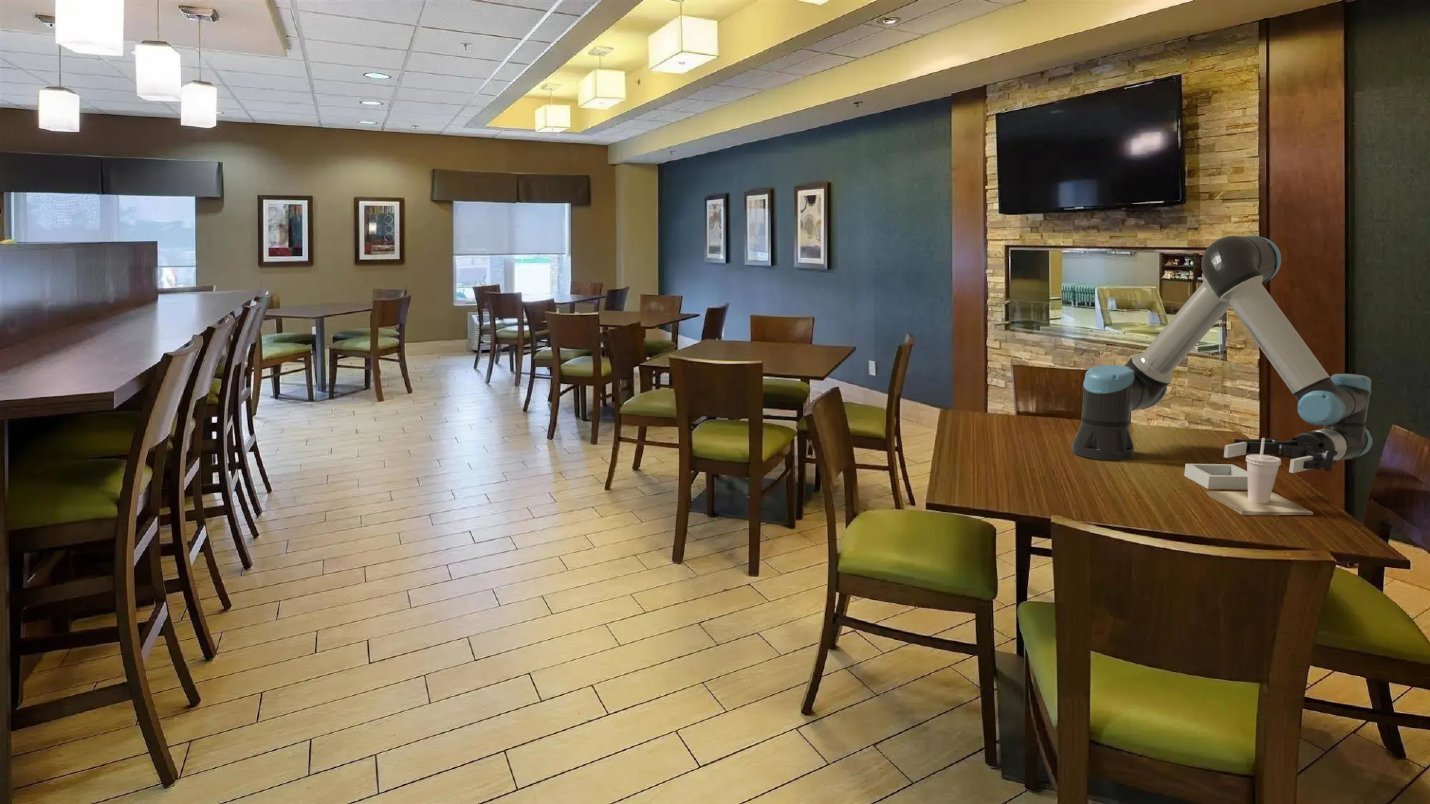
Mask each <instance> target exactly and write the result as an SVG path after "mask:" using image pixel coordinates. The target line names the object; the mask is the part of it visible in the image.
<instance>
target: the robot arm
mask: <svg viewBox="0 0 1430 804" xmlns="http://www.w3.org/2000/svg"><path fill="white" fill-rule="evenodd" d="M1200 264H1201V271H1202V274H1201V276H1202V283H1201V284H1200V285H1199V287H1198V288H1197V289H1196V290H1195V291H1194V293H1192V295H1191V296H1190V297H1189V298H1188V299H1187V301H1186V302H1185V303H1184V304H1183V305H1182V307H1181V308H1180V309H1179V310H1178V311H1177V313H1176V314H1175V315H1174V316H1173V317H1172V319H1170V321H1169V322H1168V323H1167V324H1166V325H1165V327H1164V328H1163V329H1162V330H1161V331H1160V332H1159V333H1158V335H1156V337H1155V338H1154V339H1153V341H1151V343H1150V344H1149V345H1148V346H1147V347H1146V349H1145V350H1144V351H1143V352H1142V353H1134V354H1133V355H1132V356H1131V357H1130V358H1129V359H1128V361H1127V362H1126V363H1125V364H1124V365H1119V364H1118V365H1117V364H1106V365H1098V366H1093V367H1090V368H1089V369H1088V370H1086V372H1085V375H1084V380H1083V385H1082V386H1083V391H1082V392H1083V393H1082V405H1081V420H1080V425H1079V428H1078V430H1077V432H1076V434H1075V436H1074V439H1073V441H1072V444H1071V452H1072V453H1073V454H1074V455H1076V456H1080V457H1083V458H1086V459H1087V458H1088V459H1093V460H1100V461H1116V462H1117V461H1128V460H1130V459H1131V460H1132V459H1133V458H1134V456H1135V447H1134V446H1135V445H1134V443H1133V442H1134V441H1133V438H1132V435H1131V434H1132V433H1131V431H1130V419H1131V412H1134V411H1138V410H1145V409H1148V408H1151V407H1153V406H1155V405H1156V404H1158V403H1160V402H1161V400H1163V398H1164V397H1165V396H1166V394H1167V390H1168V386H1169V385H1170V384H1171V383H1172V381H1173V371H1174V370H1175V369H1176V368H1177V367H1178V365H1180V363H1181V362H1183V360H1184V359H1185V358H1186V357H1187V356H1188V354H1189V353H1190V352H1191V351H1192V350H1193V349H1194V348H1195V347H1196V345H1198V343H1199V342H1200V341H1201V340H1202V339H1203V338H1204V336H1205V335H1206V334H1207V333H1209V331H1210V330H1211V329H1212V328H1213V327H1214V326H1215V324H1216V323H1217V322H1219V320H1220V319H1221V318H1222V317H1223V316H1224V314H1225V313H1226V312H1227V311H1228V310H1229V309H1230V308H1231V309H1232V310H1233V312H1234V313H1235V314H1236V316H1237V317H1238V319H1239V320H1240V321H1241V323H1242V325H1243V326H1244V327H1245V329H1246V330H1247V331H1248V333H1249V334H1250V336H1251V337H1252V338H1253V340H1254V342H1255V343H1256V345H1258V347H1259V348H1260V349H1261V350H1260V351H1262V353H1263V354H1264V355H1265V356H1266V358H1267V360H1268V361H1269V362H1270V363H1271V365H1272V366H1273V368H1274V369H1275V370H1276V372H1277V374H1278V375H1279V377H1280V378H1281V379H1282V380H1283V382H1284V383H1285V385H1286V386H1287V388H1288V389H1289V390H1290V392H1291V394H1292V395H1293V396H1294V397H1295V399H1296V400H1297V413H1298V415H1299V417H1300V418H1301V419H1302V420H1303V421H1304V422H1306V423H1308V424H1309V425H1312V426H1323V428H1321V429H1315V430H1312V431H1304V432H1301V433H1298V434H1296V435H1295V436H1293V438H1291V440H1290V439H1289V440H1278V439H1277V438H1274V437H1272V438H1265V443H1264V452H1263V455H1272V456H1273V457H1277V458H1287V459H1290V462H1289V468H1288V469H1289V470H1288V472H1289V473H1291V474H1295V473H1299V472H1305V471H1310V470H1317V471H1318V470H1320V469H1323V470H1324V471H1325V472H1327V473H1329V472H1332V470H1333V464H1336V463H1337V462H1338V461H1342V460H1343V461H1345V460H1352V459H1355V458H1358V457H1360V456H1363V455H1365V454H1367V453H1368V452H1369V451H1370V449H1371V447H1372V445H1373V437H1372V435H1371V433H1370V431H1369V430H1368V429H1367V427H1366V426H1367V424H1366V423H1367V418H1368V417H1367V415H1368V409H1369V403H1370V397H1371V395H1372V388H1371V387H1372V380H1371V378H1370V377H1369V376H1366V375H1361V374H1354V373H1334V374H1332V375H1331V376H1330V375H1329V374H1328V372H1327V371H1326V370H1325V369H1324V367H1323V366H1322V364H1321V363H1320V361H1319V360H1318V359H1317V357H1316V356H1315V355H1314V353H1313V352H1312V350H1311V349H1310V347H1308V345H1307V344H1306V342H1305V341H1304V340H1303V338H1302V337H1301V335H1300V334H1299V333H1298V331H1297V330H1296V329H1295V327H1294V325H1292V323H1291V322H1290V320H1289V319H1288V318H1287V317H1286V315H1285V313H1284V312H1283V311H1282V310H1281V308H1280V307H1279V306H1278V304H1277V303H1276V302H1275V300H1274V298H1273V297H1272V296H1271V294H1270V293H1269V291H1267V288H1265V286H1264V285H1263V284H1264V283H1265V284H1266V283H1267V282H1269V281H1270V280H1271V279H1273V278H1274V277H1275V276H1276V275H1277V274H1278V271H1280V268H1281V264H1282V254H1281V252H1280V249H1279V247H1278V246H1277V245H1276V243H1274V242H1273V241H1272V240H1270V239H1269V238H1265V237H1262V236H1258V235H1246V236H1244V235H1243V236H1242V235H1241V236H1240V235H1230V236H1229V235H1228V236H1224V237H1220V238H1218V239H1217V240H1215V241H1213V242H1212V243H1211V244H1210V245H1208V247H1207V248H1206V250H1205V251H1204V253H1203V255H1202V259H1201V263H1200ZM1261 442H1262V438H1234V439H1233V443H1231V444H1225V445H1224V452H1223V458H1226V459H1229V458H1235V457H1239V456H1240V457H1242V456H1245V455H1246V454H1259V455H1260V450H1261ZM1280 452H1281V453H1280ZM1246 456H1247V455H1246Z"/></svg>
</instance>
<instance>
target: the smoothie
mask: <svg viewBox="0 0 1430 804" xmlns="http://www.w3.org/2000/svg"><path fill="white" fill-rule="evenodd" d="M1261 439H1262V442H1261V450H1260V454H1256V453H1250V454H1247V455H1246V456H1245V462H1246V471H1247V477H1248V490H1247V492H1248V501H1250V502H1253V503H1258V504H1268V503H1269V500H1270V496H1271V493H1272V492H1273V488H1274V485H1275V481H1276V478H1277V474H1278V470H1279V466H1281V465H1282V459H1281V458H1280V457H1276V456H1274V455H1269V454H1263V452H1264V443H1265V439H1266V438H1265V437H1262V438H1261Z"/></svg>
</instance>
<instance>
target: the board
mask: <svg viewBox="0 0 1430 804" xmlns="http://www.w3.org/2000/svg"><path fill="white" fill-rule="evenodd" d="M1206 495H1207V496H1209V497H1211V498H1212V499H1214V500H1215V501H1217V502H1219V503H1220V504H1222V505H1224V506H1225V507H1227V508H1229V509H1231V510H1233V511H1235V512H1236V513H1238V514H1240V515H1242V516H1279V515H1313V516H1314V512H1313V511H1311V510H1309V509H1307V508H1305V507H1303V506H1301V505H1299V504H1297V503H1295V502H1293V501H1292V500H1289V499H1287V498H1285V497H1283V496H1281V495H1279V494H1277V493H1275V492H1273V491H1272V493H1271V496H1270V500H1269V503H1268V504H1258V503H1253V502H1250V501H1248V491H1222V490H1220V491H1218V490H1217V491H1216V490H1214V491H1213V490H1211V491H1210V490H1209V491H1208V490H1207V492H1206Z"/></svg>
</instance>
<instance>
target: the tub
mask: <svg viewBox="0 0 1430 804" xmlns="http://www.w3.org/2000/svg"><path fill="white" fill-rule="evenodd" d="M1183 476H1184V477H1186V478H1187V479H1189V480H1191V481H1193V482H1194V483H1196V484H1197V485H1200V486H1202V487H1203V488H1205V489H1208V490H1243V491H1244V490H1245V491H1246V490H1247V491H1248V477H1247V469H1246V470H1245V469H1243V468H1241V467H1239V466H1237V465H1235V464H1233V463H1230V464H1229V463H1227V464H1225V463H1224V464H1223V463H1221V464H1220V463H1219V464H1218V463H1217V464H1216V463H1185V467H1184V474H1183Z"/></svg>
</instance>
